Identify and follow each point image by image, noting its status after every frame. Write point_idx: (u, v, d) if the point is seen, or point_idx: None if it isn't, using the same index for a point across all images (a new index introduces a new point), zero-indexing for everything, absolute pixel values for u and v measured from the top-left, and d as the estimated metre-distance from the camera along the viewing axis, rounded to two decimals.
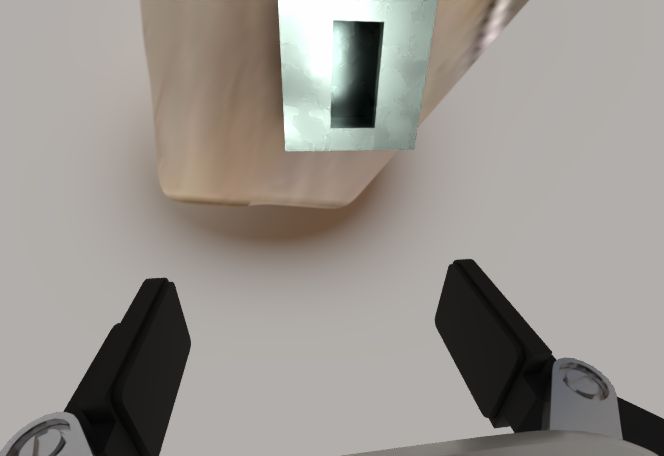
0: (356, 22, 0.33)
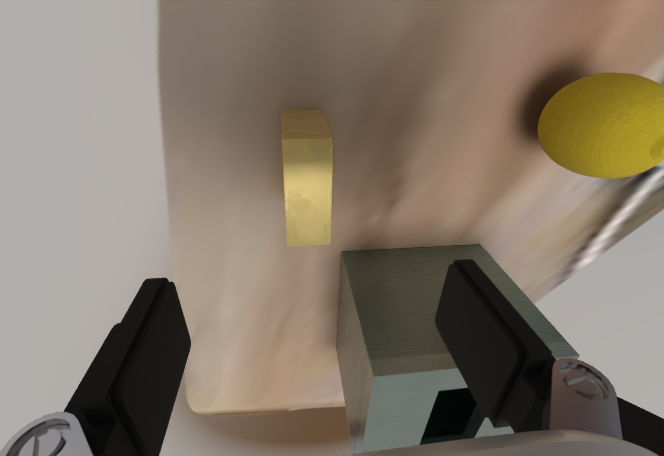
0: None
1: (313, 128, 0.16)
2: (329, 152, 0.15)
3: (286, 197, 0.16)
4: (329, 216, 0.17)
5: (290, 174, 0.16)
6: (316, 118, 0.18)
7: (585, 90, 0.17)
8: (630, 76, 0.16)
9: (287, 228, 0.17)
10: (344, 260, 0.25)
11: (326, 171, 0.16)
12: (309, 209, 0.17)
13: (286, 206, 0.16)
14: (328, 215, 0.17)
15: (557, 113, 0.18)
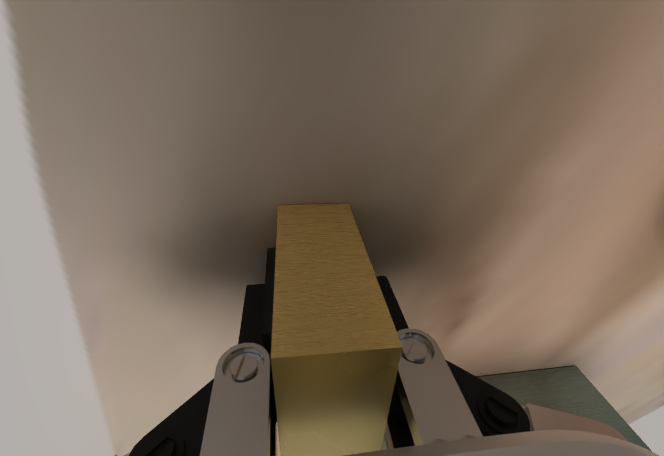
0: None
1: (344, 286, 0.07)
2: (388, 370, 0.06)
3: (284, 445, 0.07)
4: None
5: (293, 411, 0.07)
6: (345, 238, 0.09)
7: None
8: None
9: None
10: None
11: (378, 399, 0.07)
12: (334, 454, 0.08)
13: None
14: None
15: None
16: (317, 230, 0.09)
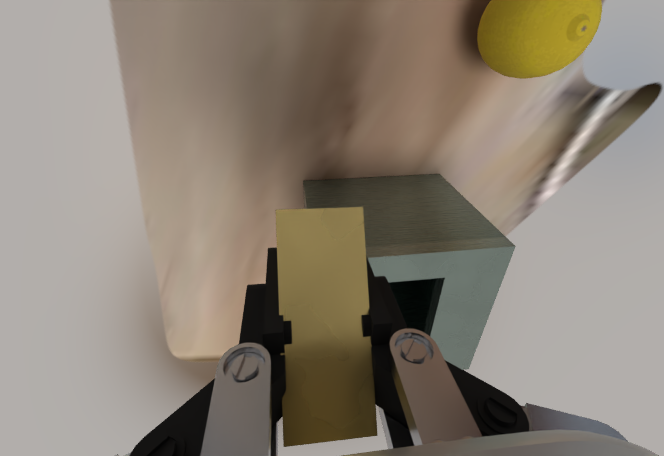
0: None
1: None
2: (358, 230, 0.09)
3: None
4: (369, 362, 0.08)
5: (290, 272, 0.09)
6: None
7: None
8: None
9: (284, 397, 0.08)
10: (304, 186, 0.26)
11: (356, 265, 0.09)
12: (328, 347, 0.08)
13: None
14: (367, 360, 0.08)
15: (488, 14, 0.19)
16: None
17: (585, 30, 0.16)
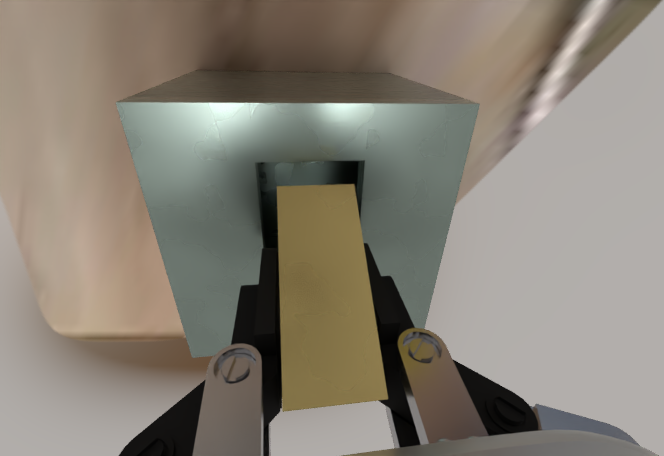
0: None
1: None
2: (351, 201, 0.10)
3: (282, 278, 0.08)
4: (372, 318, 0.08)
5: (290, 236, 0.09)
6: None
7: None
8: None
9: (283, 354, 0.08)
10: (193, 72, 0.18)
11: (351, 229, 0.09)
12: (329, 303, 0.08)
13: (282, 298, 0.08)
14: (369, 316, 0.08)
15: None
16: None
17: None
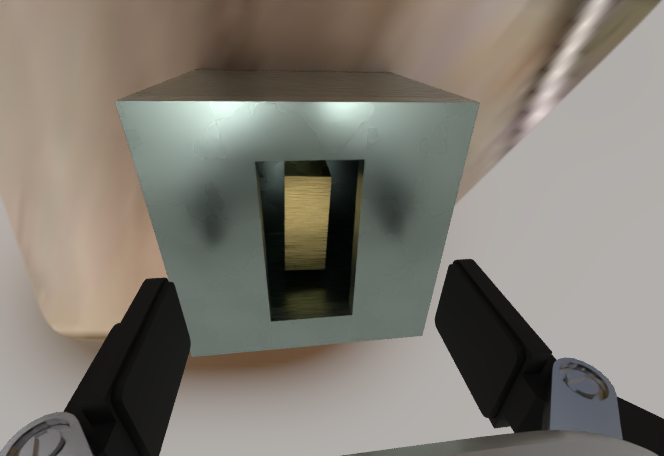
0: None
1: None
2: None
3: None
4: (325, 164, 0.18)
5: None
6: None
7: None
8: None
9: (285, 167, 0.17)
10: (193, 71, 0.18)
11: None
12: (306, 161, 0.18)
13: None
14: (324, 164, 0.18)
15: None
16: None
17: None
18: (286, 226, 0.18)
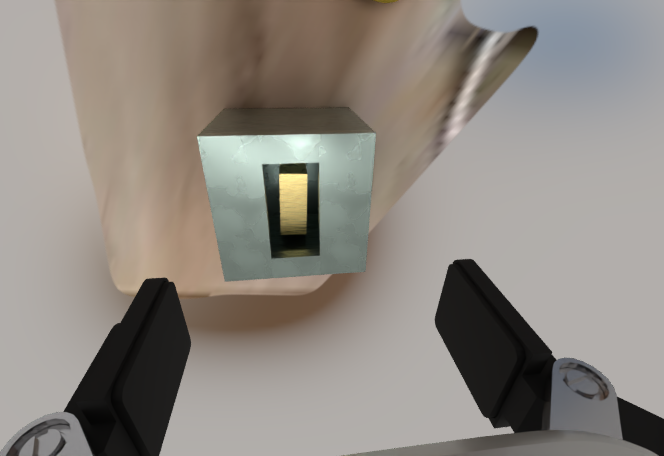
0: None
1: None
2: None
3: None
4: (305, 167, 0.29)
5: None
6: None
7: None
8: None
9: (280, 169, 0.28)
10: (222, 111, 0.30)
11: None
12: (293, 165, 0.29)
13: (280, 164, 0.29)
14: (304, 167, 0.29)
15: None
16: None
17: None
18: (281, 205, 0.29)
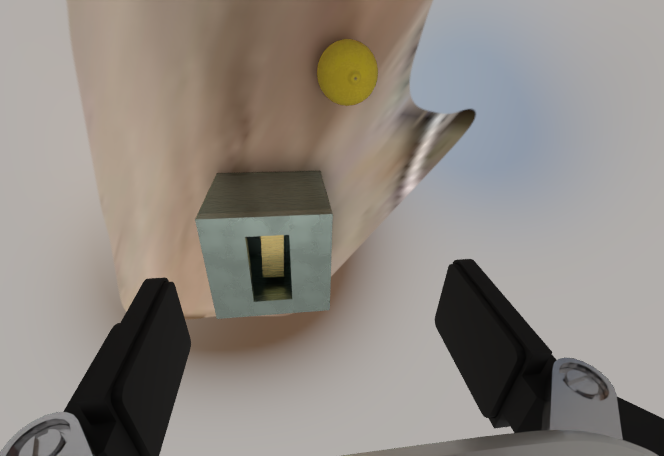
0: None
1: None
2: None
3: None
4: None
5: None
6: None
7: (326, 49, 0.29)
8: (346, 40, 0.28)
9: None
10: (215, 177, 0.36)
11: None
12: None
13: None
14: None
15: None
16: None
17: (357, 79, 0.27)
18: (262, 255, 0.36)
